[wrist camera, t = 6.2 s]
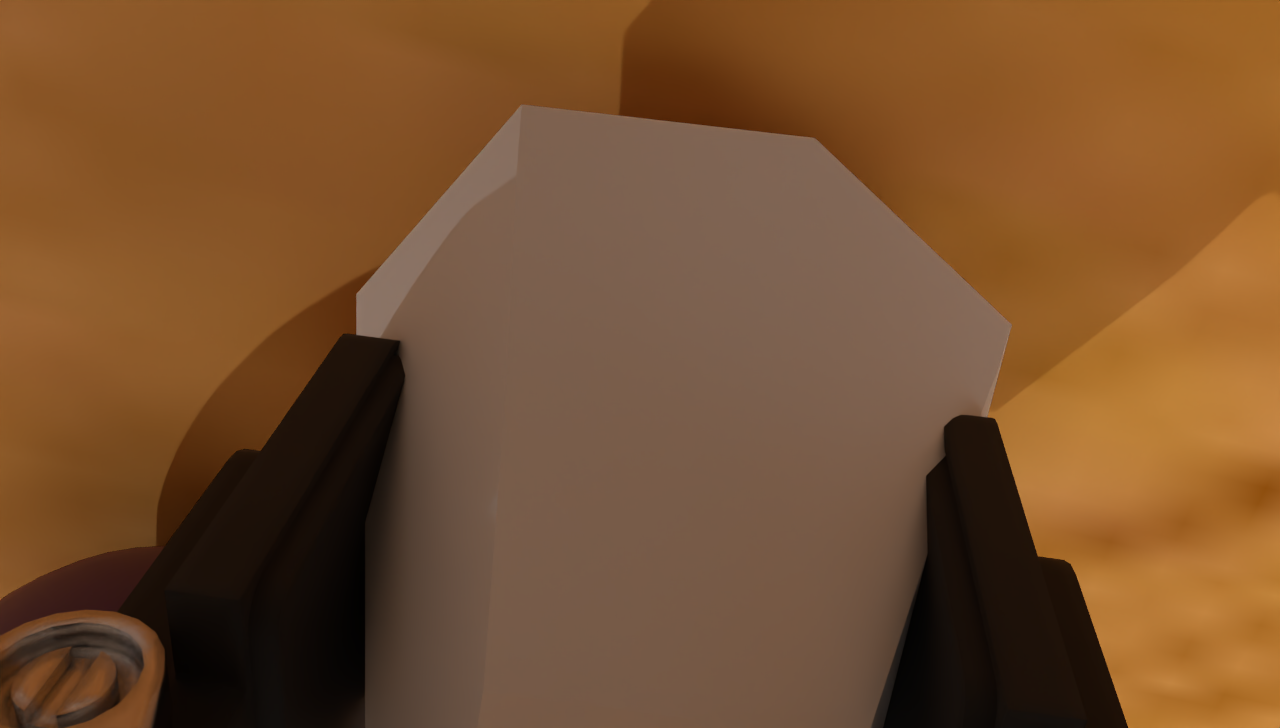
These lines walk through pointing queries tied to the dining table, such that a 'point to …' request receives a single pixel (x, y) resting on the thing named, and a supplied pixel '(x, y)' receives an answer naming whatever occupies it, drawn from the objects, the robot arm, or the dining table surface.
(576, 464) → the flask
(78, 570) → the aubergine
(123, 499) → the dining table surface
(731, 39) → the dining table surface
